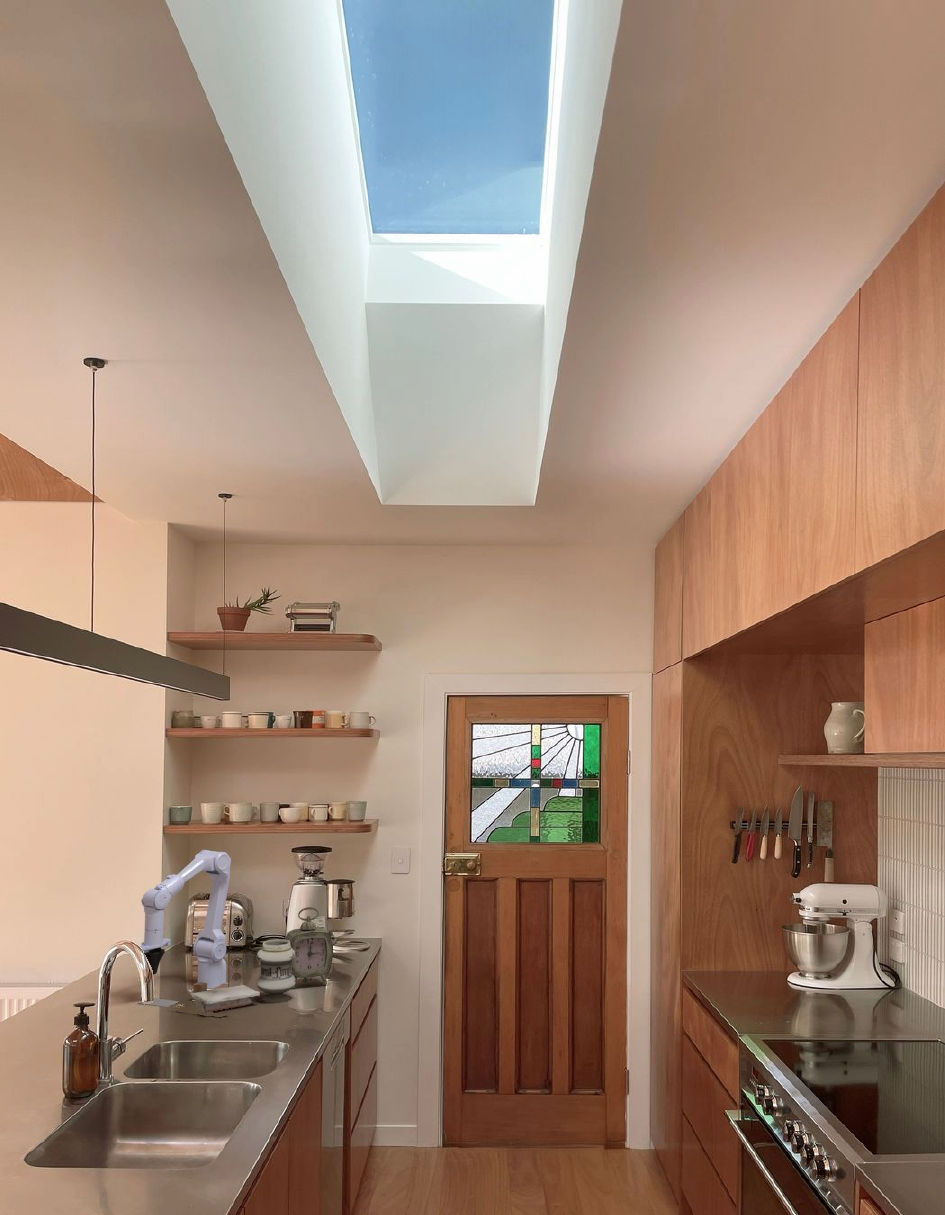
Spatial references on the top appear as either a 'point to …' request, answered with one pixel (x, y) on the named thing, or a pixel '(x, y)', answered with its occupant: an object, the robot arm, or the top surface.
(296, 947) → the tabletop clock
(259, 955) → the apothecary jar
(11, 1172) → the top surface
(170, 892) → the robot arm
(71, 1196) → the top surface
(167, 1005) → the slate pad
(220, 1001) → the packaged product
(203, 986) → the brown and white block
